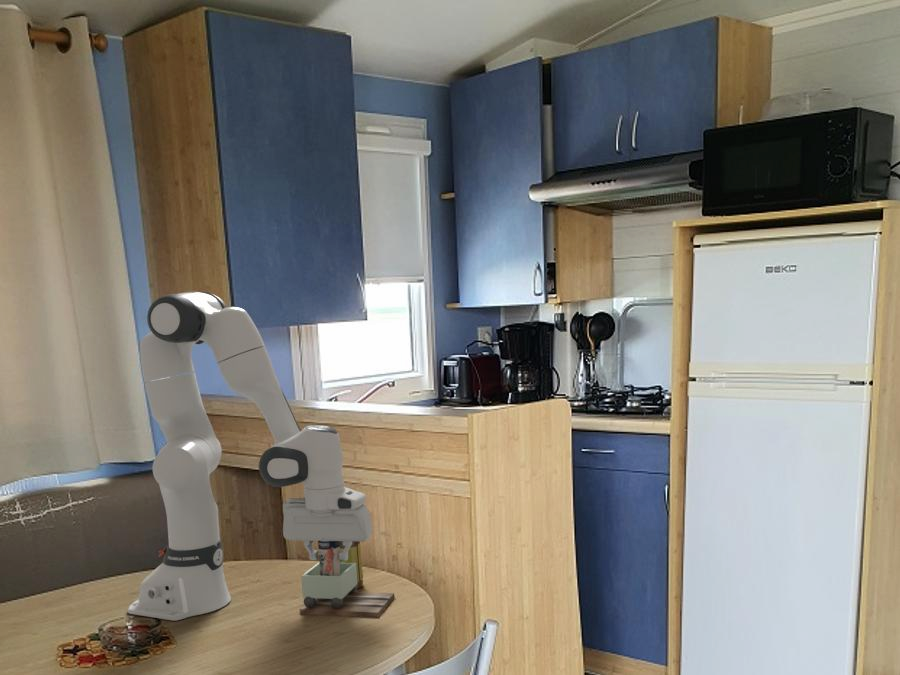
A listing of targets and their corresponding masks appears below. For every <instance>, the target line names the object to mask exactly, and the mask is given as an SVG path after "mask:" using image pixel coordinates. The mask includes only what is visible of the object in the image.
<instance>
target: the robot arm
mask: <svg viewBox="0 0 900 675" xmlns="http://www.w3.org/2000/svg"><path fill="white" fill-rule="evenodd" d="M146 317H147V318H146V319H147V321H146V322H147V324H148V328H149V331H150V332H149V333H147V334H146V335H144V337H143V338H142V339H141V341H140V345H139V347H140V349H139V350H140V353H139V354H140V365H141V366H140V367H141V372H142V377H143V378H142V379H143V382H144V386H145V391H146V395H147V399H148V400H147V401H148V404H149V407H150V413H151V416H152V418H153V419H154V420H155V421H156V422H157V424H158V426H159V428H160V430H161V432H162V434H163V436H164V439H165V440H166V444H165V445H163V447H161V449H160V450H159V452H158V453H157V454H156V456H155V458H154V460H153V463H152V474H153V477H154V480H155V481H156V483H157V484H158V485H159V489H160V492H161V494H160V495H161V497H162V500H163V504H164V508H165V513H166V520H167V521H166V524H167V536H168V545H167V546H165V547H164V548H163V549H162V550H160V551H158V553H159V555H158V557H162V556H163V555H164V556H163V560H162V563H160V565H158V566H157V567H156V568H155V569H154V570H153V571H152V572H150V573H149V574H148V575H147V576H146V577H145V578H144V579H143V580H142V582H141V583H140V587H139V591H138V598H137V599H136V600H135V601H134V602H132V603H131V604H129V607H128V610H127V611H128V614H130V615H136V616H142V617H149V618H153V619H155V618H157V619H159V620H160V619H162V620H168V621H179V620H183V619H187V618H190V617H195V616H199V615H204V614H208V613H212V612H214V611H216V610H219V609H221V608H223V607H225V606H227V605H228V604H229V603H231V600H232V597H231V594H230V592H229V588H228V586H227V582H226V578H225V573H224V568H223V564H224V563H223V562H224V561H223V560H224V559H223V558H224V552H223V542H222V541H223V540H222V538H220V523H219V522H220V521H219V506H218V504H217V503H216V501H215V498H214V497H215V496H214V494H213V491H212V486H211V480H210V477H211V476H210V475H211V473H213V472H214V471H215V470H216V469H217V467H218V466H219V464H220V461H221V458H222V453H223V452H222V445H221V443H220V441H219V439H218V438H217V436H216V434H215V432H214V428H213V426H212V424H211V421H210V419H209V417H208V415H207V412H206V409H205V406H204V404H203V400H202V396H201V392H200V388H199V383H198V380H197V375H196V370H195V367H194V362H193V359H192V350H193V348H194V346H195V344H196V345H202V344H203V343H205V344H207V345H208V346H209V347H210V350H211V352H212V354H213V356H214V359H215V361H216V364H217V367H218V369H219V372H220V374H221V377H222V379H223V380H224V381H225V384H226V385H227V386H228V388H229V390H231V391H232V392H233V393H235V394H237V395H240V396H242V397H244V398H246V399H248V400H249V401H250V402H252V403H254V404H255V405H256V406H257V408H258V409H259V410H260V412H261V414H262V416H263V418H264V419H265V422H266V424H267V426H268V429H269V431H270V433H271V435H272V438H273V441H274V444H272V445H271V446H270V447H269V448H267V449H266V450H265V451H264V452H263V453H262V455H261V456H260V457H259V461H258V470H259V474H260V476H261V478H262V479H263V481H264V482H265V483H267V485H270V486H271V487H274V488H284V487H285V488H286V487H289V486H292V485H296V484H301V483H302V484H303V486H304V487H303V490H304V497H298V498H294V497H291V498H288V499H287V500H285V501H284V502H283V504H282V514H283V524H282V526H283V527H282V534H283V537H284V539H285V540H286V541H300V542H301V541H302V542H303V546H304V548H305V550H306V551H307V553H308V558H309V560H310V561H317V560H319V549H318V550H317V549H315V547H314V546H313V543H314V542H318V541H319V540H321V539H322V538H328V539H329V540H331V541H343V546H345V548H344V551H341V552H340V553H339V557H340V558H339V560H340V561H347V560H348V551H349V549H350V547H351V545H352V541H360V543H361V542H363V543H364V542H366V541H367V540H369V538H370V537H372V533H373V524H372V518H371V514H370V510H369V507H368V506H367V505H365V503H366V501H367V496H366V493H363V492H360V491H358V490H355V489H352V488H350V487H346V486H345V480H344V477H343V466H344V459H343V448H342V442H341V438H340V434H339V433H338V431H337V430H336V429H335V428H333V427H331V426H327V425H321V424H320V425H319V424H312V425H306V426H305V427H304V428H303V429H301V428H300V425H299V424H298V421H297V419H296V417H295V415H294V413H293V411H292V408H291V406H290V404H289V402H288V399H287V398H286V396H285V393H284V391H283V390H282V388H281V385H280V382H279V380H278V378H277V375H276V373H275V370H274V367H273V366H274V365H273V364H272V361H271V358H270V355H269V352H268V350H267V347H266V344H265V342H264V340H263V338H262V336H261V333H260V332H259V330H258V328H257V326H256V324H255V322H254V320H253V319H252V318H251V316H250V315H249V313H248V312H247V310H245V309H243V308H241V307H236V306H230V307H229V306H227V305H226V302H224V301H223V299H222V298H220V297H219V296H217V295H215V294H213V293H211V292H203V291H202V292H199V291H184V292H182V293H180V292H179V293H169V294H165V295H162V296H161V297H158V298H157V299H156V300H154V301H153V302H152V303H151V305H150V307H149V309H148V311H147V316H146Z"/></svg>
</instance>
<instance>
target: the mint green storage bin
mask: <svg viewBox="0 0 900 675" xmlns="http://www.w3.org/2000/svg"><path fill="white" fill-rule="evenodd" d="M340 565H341V575H340V576H321V575H320V564H319V561H318V562H317V563H316V564H314V566H312V567H311V568H309V569H308V570H307V571H305V573H303V574H302V575H301V593H302V598H303V604H304V605H305V606H306V607H308V608H310V607H312V606H313V605H314V604H315V602H316V599H315V598H324V599H332V600H331V605H332V607H333V608H335V609H338V608H340V607H341V606H342V604H343V600H342V599H343V598H344V597H345V596H346V595H347V594H353V593H355V592H357V591H358V588H357V586H356V585H357V568H356V563H340ZM304 605H303V606H304Z"/></svg>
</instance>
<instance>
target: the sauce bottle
mask: <svg viewBox="0 0 900 675" xmlns="http://www.w3.org/2000/svg"><path fill="white" fill-rule="evenodd" d="M339 548H340V552H341V551H344V548H345V546H343V541H339ZM362 560H363V559H362V548H361V541H352V545H351V547H350V549H349V551H348V560H347V561H340V563H356V568H357V585H356V586H357V589H359V588H361V587H362V586H363V585H364V580H363V578H364V574H363V572H364V570H363V561H362Z"/></svg>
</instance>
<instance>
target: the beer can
mask: <svg viewBox="0 0 900 675" xmlns="http://www.w3.org/2000/svg"><path fill="white" fill-rule="evenodd" d="M317 543H318V544H317V545H318V555H319V558H318V560H319V561H318V562H319V564H320V575H321V576H340V575H341V565H340V560H339V558H340V557H339V553H340V548H339V541H331V540H329V539H328V538H322V539H321V540H319V541H317Z"/></svg>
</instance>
